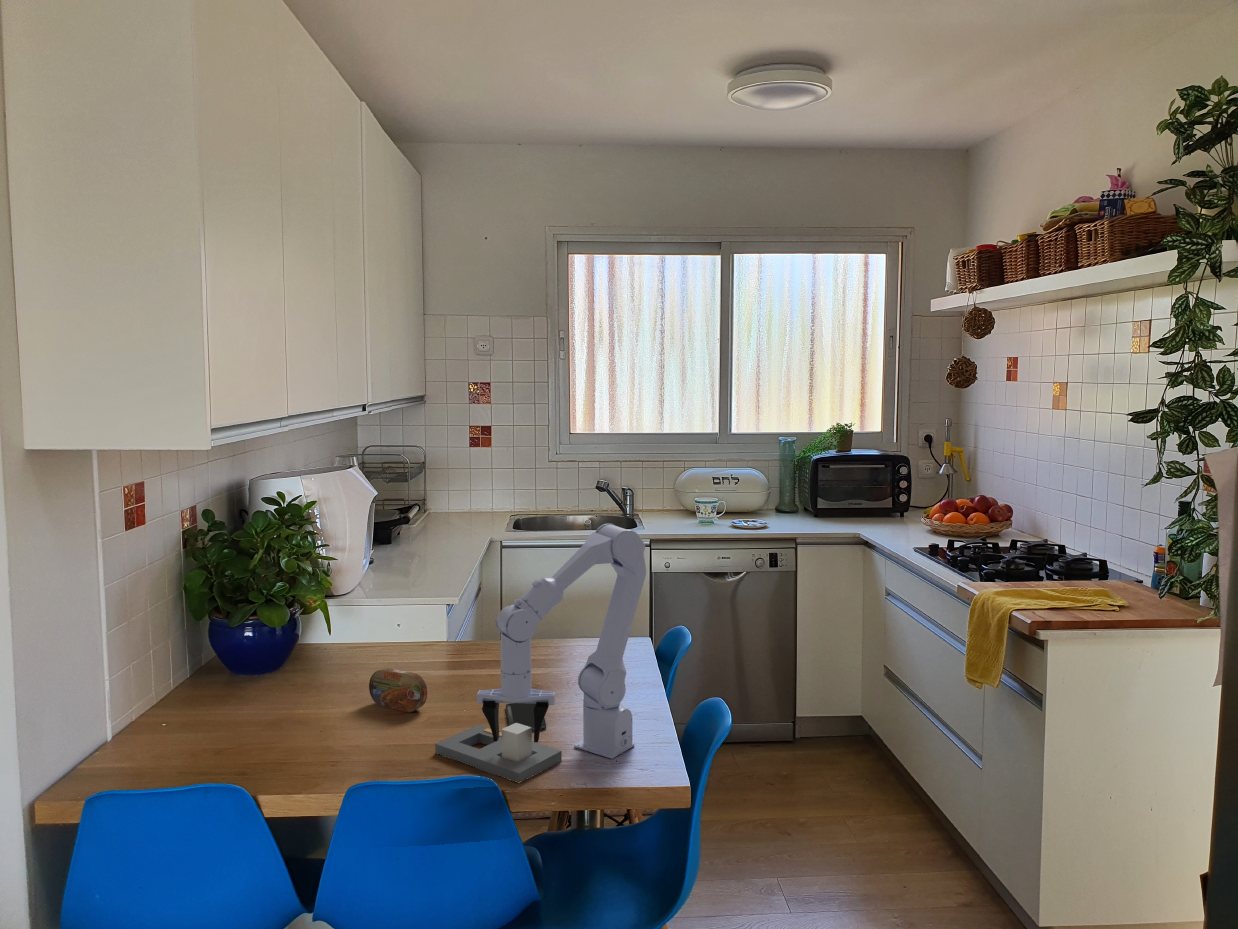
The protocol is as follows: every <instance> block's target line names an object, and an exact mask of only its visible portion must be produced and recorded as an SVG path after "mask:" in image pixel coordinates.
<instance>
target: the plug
mask: <svg viewBox="0 0 1238 929" xmlns="http://www.w3.org/2000/svg"><path fill="white" fill-rule="evenodd" d="M501 732H502V757H503V758H506V759H509V760H512V761H515V762H520V761H522V760H524V759H526V758H528V757H530V756H532V741H533V734H532V733H533V732H532V727H528V726H525V725H522V724H519V723H514V724H512V725H510V726H508V725H507V726H506V727H503V728H502V729H501Z"/></svg>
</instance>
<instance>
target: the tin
mask: <svg viewBox="0 0 1238 929" xmlns="http://www.w3.org/2000/svg"><path fill="white" fill-rule="evenodd" d="M427 688H428V687H427V683H426V681H425V680H424V678H423V677H422V676H421V675H419V674H418V673H416V672H413V671H412V672H410V671H404V670H399V669H396V668H395V669H393V668H384V669H378V670H376V671H374V673H372V674H371V676H370V678H369V682H368V690H369V694H370V697H371V698H372V699H371V700H372V701H373V702H374V703H375V704H376V705H377V706H379V707H380V706H383V707H382V708H384V707H386V708H385V709H389V708H390V709H391V710H394V709H395V710H394V711H399V712H404V713H413V712H415V711H416V710H419V709H421V708H423V706H424V705H425V704H426V702H427V698H428V689H427ZM390 709H389V710H390Z"/></svg>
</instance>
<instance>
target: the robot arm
mask: <svg viewBox="0 0 1238 929" xmlns="http://www.w3.org/2000/svg"><path fill="white" fill-rule="evenodd" d="M645 549H646V544H645V543H644V540H642V538H641V536H640V535H639V534H638V533H637V532H636V531H634V530H632V529H626V528H623V527H620V526H617V525H615V524H613V523H604V524H603V523H602V525H600V526H598V528H597V529H596V530H595V532H594V531H593V532H592V533H590V534H589V535H588V537H587V538H586V540H585V541H584V543H583V545H581V546H580V547H579V549H578V550H577V551H575V552H574V554H573V555H572V556H571V557H569V559H567V561H566V562H565V563H564V564H563V565H562V566H561V567H560V568H559V569H558V570H557V571H556V572H555V573H554V574H553V575H552V576H551V577H541V578H540V579H539V580H538V579H535V580H534V581H533V582H532V583H531V585H532V587H531V588H530V589H528V590H527V591H526V592H525V593H524V594H523V595H522V596H521V597H519V598H516V599H515V600H514V601H513V604H511V605H506V606H505V607H503V608H502V609H501V610H500V612H499V613H498V616H497V619H496V620H495V622H494V623H495V626H496V628H497V630H498V631H499V632H500V688H493V689H479V690H478V691H477V694H476V703H477V704H481V705H482V707H481V711H482V713H483V715H484V716H485V718H486V720H487V723H488V725H489V728H491V731H492V735H493V741H498V738H499V731H500V725H499V724H500V723H499V717H500V716H499V715H500V714H499V713H500V712H499V710H500V703H501V704H509V703H535V704H536V705H535V707H534V724H535V728H534V732H533V742H536V743H539V740H540V733H541V731H540V728H541V724H542V721H543V719H544V718H545V716H546V714H547V711H548V709H549V707H550V706H554V705H555V703H556V692H555V691H547V690H542V689H541V690H540V689H534V688H532V637H534V635H535V634H536V631H537V627H538V624H539V623H540V622H541V621H542V619H544V618H545V617H546V616H547V615H548V614H549V613H550V612H551V611H552V610H553V609H554V608H556V607H557V606H558V605H559V604H560V603H561V602H562V601H563V599H564V591H566V589H567V588H569V586H571V585H572V584H574V582H575V581H577V580H578V579H579V578H580V577H581V576H583V575H584V574H585V573H587V572H588V571H589V570H590V569H591V568H592V567H594V566H595V565H602V564H603V565H604V564H605V565H606V564H610V565H611V566H612V567H613V570H614V571H615V574H616V575H617V577H616V579H615V583H614V586H613V590H612V593H611V596H610V601H609V603H608V604H609V605H608V607H607V611H606V615H605V618H604V622H603V626H602V629H601V633H600V636H599V639H598V643H597V647H596V650H595V651H594V652H593V653H591V654H590V655H589V656H588V657H587V660H586V663H585V665H584V666H583V667H582V669H581V670H580V672H579V673H578V676H577V685H578V688H579V690H580V691H581V692H583V700H582V701H583V702H582V703H583V705H582V707H583V710H582V711H583V714H582V715H583V717H582V719H583V728H582V729H583V730H582V731H583V733H582V734H583V738H582V740H580V741H578V742H576V743H574V744H573V747H574V748H576V749H579V750H582V751H586V752H589V753H592V754H595V755H597V756H602V757H605V758H607V759H614V758H615V757H617V756H618V755H620V754H622V753H624V752H626V751H628V750H630V749H632V747H635V746H636V744H635V742H633V714H632V711H631V710H630V709H628V708H626V707H624V706H623V705H622V704H621V702H622V701H623V700H624V698H625V695H626V682H625V680H626V676H627V670H626V666H625V664H624V661H623V660H624V659H623V658H624V654H625V650H626V649H627V648H626V647H627V644H628V640H629V636H630V633H631V629H632V626H633V622H634V619H635V615H636V612H637V608H638V604H639V600H640V598H641V597H640V596H641V594H642V590H643V588H644V583H645V579H646V575H647V567H646V566H647V565H646V561H645Z"/></svg>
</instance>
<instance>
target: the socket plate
mask: <svg viewBox="0 0 1238 929" xmlns="http://www.w3.org/2000/svg"><path fill="white" fill-rule="evenodd" d="M479 742H480V743H479ZM482 743H483V744H482ZM474 744H475V745H477V744H482V745H485V744H487V745H485V746H483V747H482V748H477V747H474V746H475V745H474ZM472 745H473V746H472ZM434 749H435V751H434V753H438V754H440V755H439V756H441V755H442V756H441V757H444V756H446V757H449V758H451V759H450V760H452V759H454V760H453V761H455V760H457V761H460V762H462V763H461V764H463V763H465V764H464V765H466V764H467V765H466V766H468V765H470V766H469V767H471V766H473V767H472V768H474V767H475V768H474V769H478V770H480V771H483V772H485V773H488V774H491V775H494V776H496V775H498V776H497V777H499V776H501V777H500V778H502V777H505V778H508V779H511V780H514V781H517V782H520V781H523V780H525V779H527V778H529V777H531V776H532V775H534V776H536V775H538V774H540V773H541V772H540V771H542V772H544V771H546V770H547V769H549V768H551V767H553V766H554V764H555V765H557V764H558V762H559V763H560V762H562V760H563V759H562V756H563V755H562V754H563V753H562V750H560V749H557V748H555V747H551V746H548V745H544V744H543V743H539V742H534V740H532V756H530V757H528V758H526V759H524V760H522V761H520V762H515V761H512V760H509V759H506V758H503V757H502V730H499V738H498V741H493V735H492V731H491V728H490V726H486V725H482V724H477V725H474V726H473V727H469V728H468V729H465V730H464V731H461V732H459V733H457V734H454V735H452V736H449V737H447V738H444V739H443V740H440V741H438V742H435V743H434ZM438 754H437V755H438ZM446 757H445V758H446ZM449 758H448V759H449ZM457 761H456V762H457ZM460 762H459V763H460ZM556 763H557V764H556ZM548 767H549V768H548ZM546 768H547V769H546ZM545 769H546V770H545ZM543 770H544V771H543ZM539 772H540V773H539ZM537 773H538V774H537ZM535 774H536V775H535ZM531 778H532V777H531ZM529 779H530V778H529ZM527 780H528V779H527ZM525 781H526V780H525ZM523 782H524V781H523Z"/></svg>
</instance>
